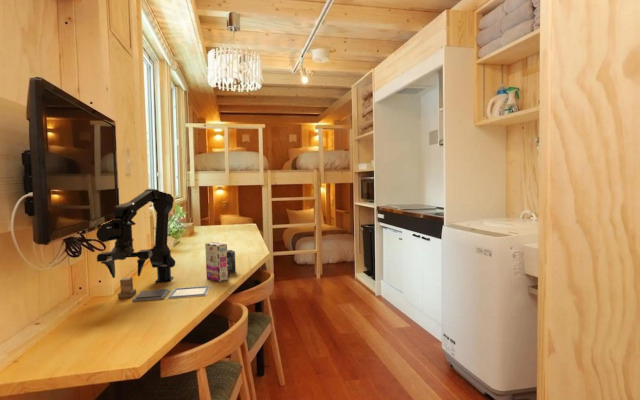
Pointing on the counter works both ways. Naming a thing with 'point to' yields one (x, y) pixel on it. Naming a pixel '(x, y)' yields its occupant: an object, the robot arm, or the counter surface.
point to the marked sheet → (189, 292)
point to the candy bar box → (216, 261)
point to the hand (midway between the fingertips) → (126, 276)
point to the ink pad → (151, 295)
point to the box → (231, 261)
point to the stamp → (126, 288)
